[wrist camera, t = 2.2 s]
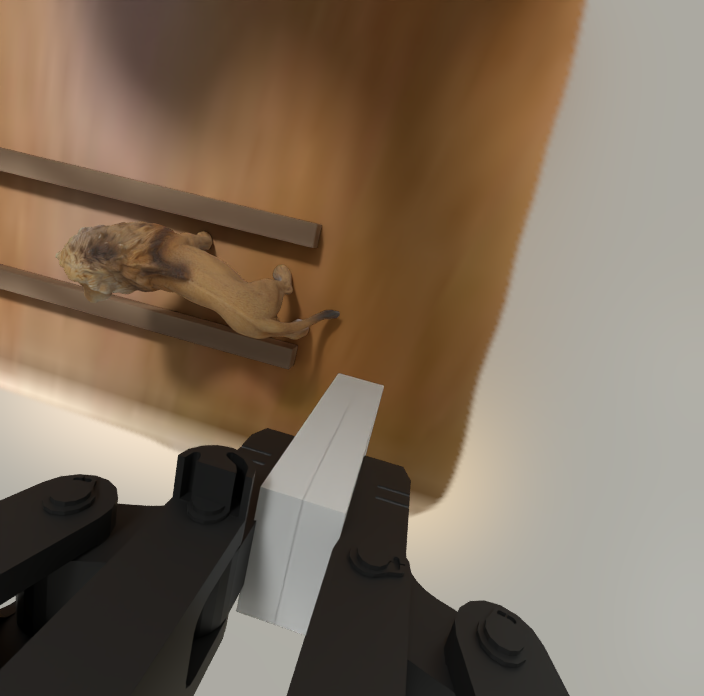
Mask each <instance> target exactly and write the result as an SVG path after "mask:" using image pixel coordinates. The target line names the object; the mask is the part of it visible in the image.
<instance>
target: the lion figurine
mask: <svg viewBox="0 0 704 696" xmlns="http://www.w3.org/2000/svg"><path fill="white" fill-rule="evenodd" d="M211 245H212V238H211V236H210V234H209V233H208V232H206V231H202V232H199V233H198V234H197V235H193V234H191V233H185V232H184V233H180V234H177V233H175V232H173V230H171V229H169V228H167V227H165V226H163V225H159V224H157V223H152V224H149V223H146V222H142V221H141V222H131V223H125V222H122V223H119V224H114V225H112V226H105V225H99V226H95V227H91V228H89V227H84V228H81V229H80V230H79V232H78V234H77V235H74V236H73V237H71V238H70V239H69V241H68V243H67V244H65V246H64V248H63V250H62V251H60V252H58V253H57V254H56V258H57V259H59V264H60V266H62V267H63V268H64V271H65V273H66V274H67V275H68V278H69V279H70V280H72V281H74V282H78V283H80V284H81V285H82V286H83V288H84V296H85V297H86V299H87V300H88V301H90V302H91V303H97V302H98V301H105V300H107V299H109V298H110V297H111V295H112V292H113V293H117V292H118V293H122V294H130V293H132V292H134V291H136V290H139V291H143V292H153V291H157V290H164V291H167V292H175V293H177V294H179V295H180V296H182V297H184V298H185V299H187V300H189V301H191V302H193V303H196V304H198V305H201V306H204V307H206V308H209V309H212V310H214V311H215V312H217V313H218V314H219V315H220V316H221V317H222V318H223V319H224V320H225V321H226V323H227V324H228V325H229V326H230V327H231V328H232V329H233V330H234V331H236V332H238V333H240V334H242V335H245V336H248V337H251V338H256V339H263V338H268V337H275V336H284V337H288V338H290V339H299V338H301V337H304V336H305V335H307V333H308V331H309V326H311V325H313V324H315V323H317V322H319V321H321V320H324V319H332V318H337V317H339V315H340V313H339V312H338V311H334V310H325V311H322V312H320V313H318V314H315V315H314V316H312V317H309V318H307V319H305V320H300V319H297V320H295V321H293V322H292V323H283V322H280V320H279V318H278V317H277V314H278V312H279V310H280V308H281V305H282V300H283V296H284V295H285V294H291V293H292V291H293V288H292V283H291V280H292V276H291V272H290V270H289V269H288V268H287V267H286V266H285V265H279V266H277V267H276V268H275V270H274V272H273V277H274V279H275V280H272V279H262V280H259V281H253V282H251V283H248V282H246V281H245V280H244V279H243V278H242V277H241V276H240V275H239V274H238V273H237V272H236V271H235V270H234V269H233V268H232V267H231V266H230V265H229V264H227V263H226V262H224V261H222V260H221V259H219V258H217V257H215V256H213V255H210V254H209V253H207V252H205V251H203V250H208V249H210V247H211Z"/></svg>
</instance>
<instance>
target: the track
mask: <svg viewBox="0 0 704 696" xmlns="http://www.w3.org/2000/svg"><path fill="white" fill-rule="evenodd" d="M0 171H4V172H8V173H12V174H16V175H20V176H24V177H28V178H32V179H36V180H40V181H44V182H48V183H52V184H56V185H60V186H64V187H68V188H72V189H76V190H81V191H85V192H89V193H93V194H97V195H101V196H105V197H109V198H113V199H117V200H121V201H125V202H129V203H133V204H137V205H141V206H145V207H149V208H153V209H157V210H161V211H165V212H169V213H174V214H178V215H182V216H186V217H190V218H194V219H198V220H202V221H206V222H210V223H214V224H218V225H222V226H226V227H230V228H234V229H238V230H242V231H246V232H250V233H254V234H258V235H262V236H267V237H271V238H275V239H279V240H283V241H287V242H291V243H295V244H299V245H303V246H307V247H311V248H317V247H318V242H319V237H320V232H321V227H322V225H320V224H316V223H312V222H308V221H304V220H300V219H295V218H291V217H287V216H283V215H279V214H275V213H270V212H266V211H262V210H258V209H254V208H250V207H246V206H241V205H237V204H233V203H229V202H225V201H221V200H216V199H212V198H208V197H204V196H200V195H196V194H192V193H187V192H183V191H179V190H175V189H171V188H167V187H162V186H158V185H154V184H150V183H146V182H142V181H138V180H133V179H129V178H125V177H121V176H117V175H113V174H108V173H104V172H100V171H96V170H92V169H88V168H84V167H79V166H75V165H71V164H67V163H63V162H59V161H55V160H50V159H46V158H42V157H38V156H34V155H30V154H25V153H21V152H17V151H13V150H9V149H5V148H1V147H0ZM0 289H3V290H7V291H11V292H14V293H18V294H21V295H25V296H28V297H32V298H35V299H39V300H43V301H46V302H50V303H53V304H57V305H60V306H64V307H68V308H71V309H75V310H78V311H82V312H85V313H89V314H93V315H96V316H100V317H103V318H107V319H110V320H114V321H117V322H121V323H125V324H128V325H132V326H135V327H139V328H142V329H146V330H150V331H153V332H157V333H160V334H164V335H167V336H171V337H175V338H178V339H182V340H185V341H189V342H192V343H196V344H199V345H203V346H207V347H210V348H214V349H217V350H221V351H224V352H228V353H232V354H235V355H239V356H242V357H246V358H249V359H253V360H257V361H260V362H264V363H267V364H271V365H274V366H278V367H281V368H285V369H290V368H291V367H292V366H293V365H294V362H295V357H296V352H297V347H298V345H295V344H291V343H287V342H284V341H280V340H276V339H273V338H269V337H268V338H263V339H256V338H251V337H248V336H245V335H242V334H240V333H238V332H236V331H234V330H233V329H232V328H231V327H229V326H225V325H222V324H218V323H214V322H211V321H207V320H203V319H200V318H196V317H192V316H189V315H185V314H181V313H178V312H174V311H170V310H167V309H163V308H159V307H156V306H152V305H148V304H145V303H141V302H137V301H134V300H130V299H126V298H123V297H119V296H115V295H111V297H110V298H109V299H107V300H105V301H98V302H97V303H91V302H90V301H88V300H87V299H86V297H85V296H84V288H83V286H79V285H75V284H72V283H68V282H64V281H61V280H57V279H53V278H50V277H46V276H42V275H39V274H35V273H31V272H28V271H24V270H20V269H17V268H13V267H9V266H6V265H2V264H0Z"/></svg>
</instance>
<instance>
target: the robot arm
mask: <svg viewBox="0 0 704 696" xmlns="http://www.w3.org/2000/svg"><path fill="white" fill-rule="evenodd" d="M383 388H384V386H383V385H380V384H376V383H372V382H369V381H365V380H362V379H358V378H354V377H351V376H347V375H344V374H340V373H338V375H337V376H336V378H335V379H334V380H333V382H332V383H331V385H330V386H329V388H328V389H327V391H326V392H325V394H324V395H323V396H322V398H321V399H320V401H319V402H318V404H317V405H316V407H315V408H314V410H313V411H312V413H311V414H310V415H309V417H308V418H307V420H306V421H305V423H304V424H303V426H302V427H301V429H300V430H299V431H298V433H297V434H296V436H292V435H289V434H286V433H282V432H279V431H276V430H272V429H269V428H267V429H264V430H262V431H259V432H257V433H255V434H252V435H251V436H250V437H249V438H248V439H247V440H246V441H245V443H244V444H243V445H242V447H240V448H239V449H238V450H236V449H234V448H230V447H225V446H219V445H207V446H199V447H195V448H191V449H188V450H186V451H185V452H183V453H181V454H179V455H178V460H177V468H176V476H175V483H174V491H173V497H172V498H171V499H170V500H169V501H168V502H167V503H166V504H165V505H164V506H142V505H129V504H117V502H118V495H117V488H116V487H115V486H114V485H113V484H112V483H111V482H110V481H109V480H106V479H103V478H101V477H98V476H93V475H82V474H78V475H69V476H61V477H58V478H54V479H51V480H48V481H45V482H42V483H40V484H37V485H35V486H33V487H30V488H28V489H26V490H24V491H21V492H19V493H17V494H14V495H12V496H10V497H7V498H5V499H3V500H0V605H1V604H3V603H4V602H6V601H8V600H9V599H11V598H12V597H14V596H16V601H15V602H13V603H12V604H10V605H8V606H6V607H4V608H1V609H0V696H194V694H195V692H196V690H197V688H198V686H199V684H200V682H201V680H202V678H203V676H204V674H205V672H206V670H207V668H208V666H209V664H210V662H211V661H212V658H213V657H214V655H215V653H216V651H217V649H218V647H219V645H220V643H221V641H222V639H223V636H224V632H225V629H226V625H227V619H228V614H229V612H230V610H231V608H232V606H233V604H234V602H235V601H236V599H237V597H238V595H239V593H240V595H239V600H238V606H237V610H236V611H237V612H239V613H243V614H245V615H248V616H251V617H254V618H257V619H259V620H262V621H266V622H268V623H271V624H274V625H277V626H279V627H282V628H285V629H288V630H291V631H294V632H296V633H299V634H303V635H305V639H304V642H303V645H302V648H301V651H300V655H299V658H298V661H297V664H296V667H295V671H294V674H293V677H292V680H291V683H290V687H289V690H288V693H287V696H569V694H568V692H567V690H566V688H565V686H564V684H563V682H562V680H561V678H560V676H559V675H558V672H557V671H556V669H555V667H554V665H553V663H552V661H551V659H550V657H549V655H548V653H547V651H546V649H545V647H544V645H543V644H542V643H541V641H540V640H539V638H538V637H537V635H536V634H535V632H534V631H533V630H532V629H531V628H530V627H529V626H528V625H527V624H526V623H525V622H524V621H523V620H522V619H521V618H520V617H518V616H517V615H516V614H514V613H512V612H511V611H509V610H507V609H506V608H504V607H502V606H501V605H497V604H494V603H491V602H487V601H470V602H468V603H466V604H465V605H463V606H461V607H460V608H459V610H458V612H457V611H455V610H454V609H452V608H451V607H449V606H448V605H446V604H444V603H443V602H441V601H439V600H438V599H436V598H435V597H434V596H432V595H431V594H430V593H428V592H427V591H426V590H425V589H424V588H423V587H422V586H421V585H420V584H419V583H418V582H417V581H416V579H415V578H414V576H413V575H412V573H411V570H410V564H409V561H408V560H407V558H406V545H407V530H408V515H409V509H408V508H409V500H410V497H409V496H410V485H411V480H410V479H409V477H408V475H407V473H406V471H405V469H404V468H403V467H401V466H398V465H395V464H391V463H388V462H385V461H381V460H378V459H375V458H371V457H368V456H365V455H366V452H367V448H368V444H369V441H370V437H371V433H372V429H373V426H374V422H375V418H376V414H377V411H378V407H379V403H380V400H381V396H382V392H383Z"/></svg>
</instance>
